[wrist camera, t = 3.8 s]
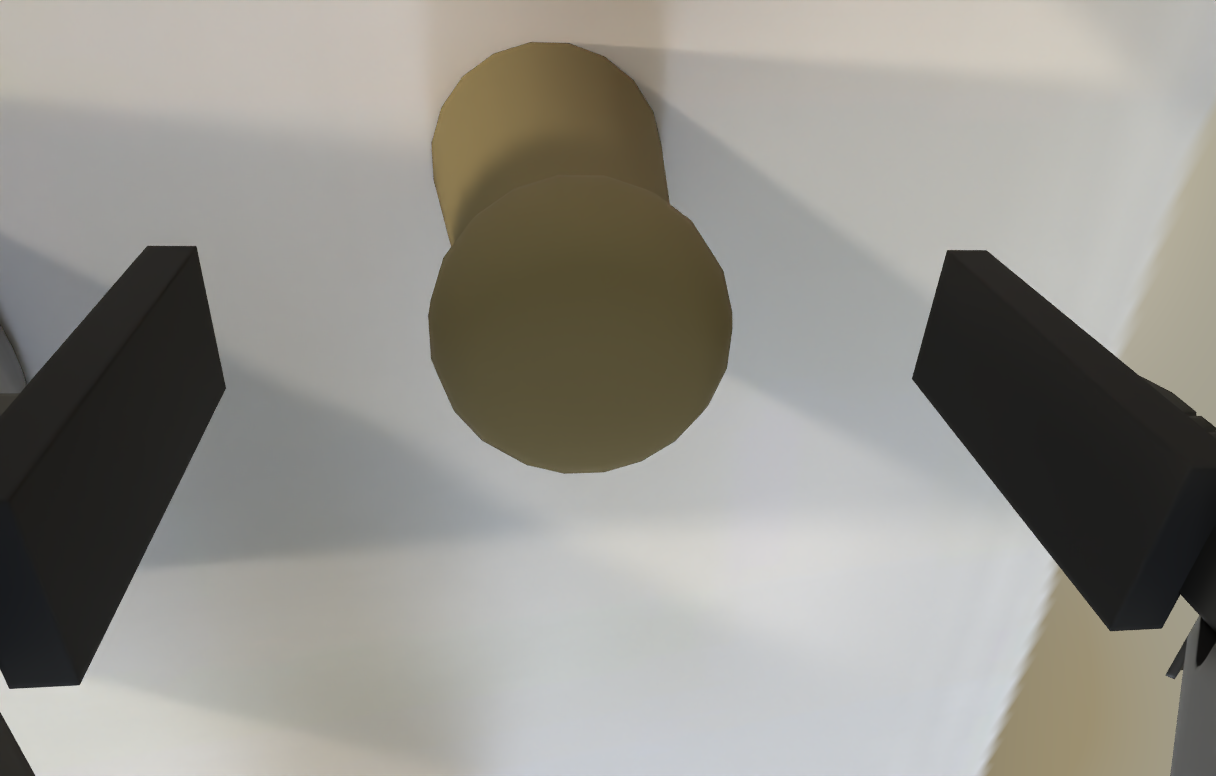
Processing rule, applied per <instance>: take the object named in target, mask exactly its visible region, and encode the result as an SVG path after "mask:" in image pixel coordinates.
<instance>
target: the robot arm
mask: <svg viewBox="0 0 1216 776" xmlns="http://www.w3.org/2000/svg"><path fill="white" fill-rule="evenodd" d="M912 380H913V381H914V382H915V383H916V385H917V386H918V387H919V388H920V390H921V391H922V392H923V394H924V395H925V396H926V397H927V399H928V400H929V401H930V402H931V404H932V405H933V406H934V408H935V409H936V410H937V411H938V413H939V414H940V415H941V416H942V418H943V419H944V420H945V422H946V423H947V424H948V425H949V427H950V428H951V429H952V430H953V432H954V433H955V434H956V436H957V437H958V438H959V439H960V441H961V442H962V443H963V444H964V446H965V447H966V448H967V450H968V451H969V452H970V453H971V455H972V456H973V457H974V458H975V460H976V461H977V462H978V464H979V465H980V466H981V467H982V469H983V470H984V471H985V472H986V474H987V475H988V476H989V478H990V479H991V480H992V481H993V483H994V484H995V485H996V486H997V488H998V489H999V490H1000V492H1001V493H1002V494H1003V495H1004V497H1005V498H1006V499H1007V500H1008V502H1009V503H1010V504H1011V506H1012V507H1013V508H1014V509H1015V511H1016V512H1017V513H1018V514H1019V516H1020V517H1021V518H1022V520H1023V521H1024V522H1025V523H1026V525H1027V526H1028V527H1029V528H1030V530H1031V531H1032V532H1033V534H1034V535H1035V536H1036V537H1037V539H1038V540H1039V541H1040V542H1041V544H1042V545H1043V546H1044V548H1045V549H1046V550H1047V551H1048V553H1049V554H1050V555H1051V556H1052V558H1053V559H1054V560H1055V562H1056V563H1057V564H1058V565H1059V567H1060V568H1061V569H1062V570H1063V572H1064V573H1065V574H1066V576H1067V577H1068V578H1069V579H1070V581H1071V582H1072V583H1073V584H1074V585H1075V587H1076V588H1077V590H1078V591H1079V592H1080V593H1081V594H1082V596H1083V597H1084V598H1085V600H1086V601H1087V602H1088V604H1089V605H1090V606H1091V607H1092V609H1093V610H1094V611H1095V612H1096V614H1097V615H1098V616H1099V617H1100V619H1101V620H1102V621H1103V623H1104V624H1105V625H1106V626H1107V628H1108V629H1109V630H1110V631H1120V630H1121V631H1123V630H1141V629H1161V628H1162V627H1163V625H1164V623H1165V621H1166V620H1167V618H1168V616H1169V614H1170V612H1171V611H1172V609H1173V607H1174V605H1175V603H1176V601H1177V600H1178V598H1179V596H1180V594H1181V595H1182V596H1183V597H1184V598H1185V600H1186V601H1187V602H1188V603H1189V604H1190V605H1191V606H1192V607H1193V608H1194V610H1195V611H1196V612H1198V614H1199V617H1198V619H1197V621H1196V622H1195V624H1194V626H1193V628H1192V629H1191V631H1190V633H1189V635H1188V636H1187V638H1186V640H1185V642H1184V643H1183V645H1182V647H1181V649H1180V651H1179V652H1178V654H1177V656H1176V658H1175V659H1174V661H1173V663H1172V665H1171V666H1170V668H1169V670H1168V672H1167V673H1166V676H1168V677H1170V678H1173V679H1175V678H1176V676H1177V675H1178V673H1179V672H1180V670H1183V677H1182V685H1181V694H1180V702H1179V711H1178V718H1177V726H1176V734H1175V742H1174V750H1173V759H1172V767H1171V775H1170V776H1216V427H1214V426H1213V425H1212V424H1211V423H1209V422H1208V421H1207V420H1206V419H1204V418H1203V417H1202V416H1196V412H1195V411H1194V410H1193V409H1192V408H1191V407H1189V406H1188V405H1187V404H1186V403H1184V402H1183V401H1182V400H1181V399H1180V398H1178V397H1177V396H1176V395H1175V394H1173V393H1172V392H1170V391H1168V390H1166V389H1164V388H1162V387H1160V386H1158V385H1156V384H1155V383H1153V382H1151V381H1149V380H1147V379H1145V378H1143V377H1141V376H1139V375H1137V374H1136V373H1135V372H1134V371H1133V370H1132V369H1130V368H1129V367H1128V366H1127V365H1125V364H1124V363H1123V362H1122V361H1121V360H1119V359H1118V358H1117V357H1116V356H1114V355H1113V354H1112V353H1111V352H1110V351H1108V350H1107V349H1106V348H1105V347H1103V346H1102V345H1101V344H1100V343H1099V342H1097V341H1096V340H1095V339H1094V338H1092V337H1091V336H1090V335H1089V334H1088V333H1086V332H1085V331H1084V330H1083V329H1082V328H1080V327H1079V326H1078V325H1077V324H1075V323H1074V322H1073V321H1072V320H1071V319H1069V318H1068V317H1067V316H1066V315H1064V314H1063V313H1062V312H1061V311H1060V310H1058V309H1057V308H1056V307H1055V306H1053V305H1052V304H1051V303H1050V302H1049V301H1047V300H1046V299H1045V298H1044V297H1042V296H1041V295H1040V294H1039V293H1038V292H1036V291H1035V290H1034V289H1033V288H1032V287H1030V286H1029V285H1028V284H1027V283H1025V282H1024V281H1023V280H1022V279H1021V278H1019V277H1018V276H1017V275H1016V274H1014V273H1013V272H1012V271H1011V270H1010V269H1008V268H1007V267H1006V266H1005V265H1003V264H1002V263H1001V262H1000V261H999V260H997V259H996V258H995V257H994V256H992V255H991V254H990V253H989V252H988V251H986V250H947V253H946V256H945V260H944V264H943V267H942V271H941V275H940V278H939V282H938V286H937V289H936V293H935V297H934V300H933V304H932V308H931V311H930V315H929V318H928V322H927V326H926V329H925V333H924V337H923V340H922V344H921V348H920V351H919V355H918V359H917V362H916V366H915V370H914V373H913V377H912ZM225 389H226V386H225V382H224V377H223V372H222V367H221V362H220V358H219V353H218V348H217V343H216V338H215V334H214V329H213V324H212V319H211V314H210V310H209V305H208V300H207V295H206V290H205V286H204V281H203V276H202V271H201V266H200V262H199V257H198V252H197V247H196V246H147V247H146V248H145V249H144V250H143V252H142V253H141V254H140V255H139V256H138V257H137V258H136V260H135V261H134V262H133V263H132V264H131V265H130V267H129V268H128V269H127V270H126V271H125V272H124V274H123V275H122V276H121V277H120V278H119V279H118V280H117V282H116V283H115V284H114V285H113V286H112V287H111V289H110V290H109V291H108V292H107V293H106V294H105V295H104V297H103V298H102V299H101V300H100V301H99V302H98V304H97V305H96V306H95V307H94V308H93V309H92V311H91V312H90V313H89V314H88V315H87V316H86V317H85V319H84V320H83V321H82V322H81V323H80V324H79V326H78V327H77V328H76V329H75V330H74V331H73V333H72V334H71V335H70V336H69V337H68V338H67V339H66V341H65V342H64V343H63V344H62V345H61V346H60V348H59V349H58V350H57V351H56V352H55V353H54V354H53V356H52V357H51V358H50V359H49V360H48V361H47V363H46V364H45V365H44V366H43V367H42V368H41V370H40V371H39V372H38V373H37V374H36V375H35V376H34V378H33V379H32V380H31V381H30V382H29V383H28V385H26V382H25V378H24V375H23V372H22V369H21V367H20V364H19V362H18V359H17V357H16V355H15V352H14V350H13V348H12V346H11V344H10V342H9V340H8V338H7V336H6V335H5V333H4V331H3V329H2V327H1V325H0V669H1V672H2V674H3V676H4V678H5V680H6V682H7V685H8V687H9V689H15V688H34V687H53V686H73V685H80V683H81V681H82V679H83V677H84V675H85V673H86V671H87V669H88V667H89V665H90V663H91V661H92V659H93V657H94V655H95V653H96V651H97V649H98V647H99V645H100V643H101V641H102V639H103V637H104V635H105V633H106V631H107V629H108V626H109V624H110V622H111V620H112V618H113V616H114V614H115V612H116V610H117V608H118V606H119V604H120V602H121V600H122V598H123V596H124V594H125V592H126V590H127V588H128V586H129V584H130V582H131V580H132V578H133V576H134V574H135V572H136V570H137V568H138V566H139V564H140V562H141V560H142V557H143V555H144V553H145V551H146V549H147V547H148V545H149V543H150V541H151V539H152V537H153V535H154V533H155V531H156V529H157V527H158V525H159V523H160V521H161V519H162V517H163V515H164V513H165V511H166V509H167V507H168V505H169V503H170V501H171V499H172V497H173V495H174V493H175V491H176V488H177V486H178V484H179V482H180V480H181V478H182V476H183V474H184V472H185V470H186V468H187V466H188V464H189V462H190V460H191V458H192V456H193V454H194V452H195V450H196V448H197V446H198V444H199V442H200V440H201V438H202V436H203V434H204V432H205V430H206V428H207V426H208V424H209V422H210V419H211V417H212V415H213V413H214V411H215V409H216V407H217V405H218V403H219V401H220V399H221V397H222V395H223V393H224V391H225ZM0 776H35V774H34V772H33V771H32V769H31V767H30V765H29V763H28V762H27V760H26V758H25V756H24V754H23V753H22V751H21V749H20V747H19V745H18V744H17V742H16V740H15V738H14V736H13V734H12V733H11V731H10V729H9V727H8V725H7V724H6V722H5V720H4V718H3V716H2V715H1V713H0Z"/></svg>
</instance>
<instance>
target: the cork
mask: <svg viewBox="0 0 1216 776" xmlns="http://www.w3.org/2000/svg"><path fill="white" fill-rule="evenodd" d="M432 159H433V177H434V183H435V187H436V190H437V194H438V198H439V202H440V206H441V210H442V214H443V217H444V221H445V225H446V229H447V233H448V237H449V240H450V244H451V248H450V250H449V251H448V252H447V254H446V255H445V256H444V258H443V261H442V264H441V268H440V271H439V274H438V277H437V281H436V284H435V287H434V291H433V294H432V297H431V301H430V308H429V314H428V319H429V334H430V349H431V360H432V362H433V365H434V367H435V369H436V372H437V374H438V376H439V379H440V381H441V383H442V385H443V388H444V390H445V392H446V394H447V396H448V399H449V401H450V403H451V405H452V408H453V410H454V411H455V413H456V414H457V415H458V416H459V417H460V418H461V419H462V420H463V421H464V422H465V423H466V424H467V425H468V426H469V427H470V428H471V429H472V430H473V431H474V432H475V433H476V435H477V436H478V437H479V438H480V439H481V440H482V441H484V442H486V443H488V444H489V445H491V446H493V447H495V448H497V449H499V450H500V451H502V452H504V453H506V454H508V455H510V456H511V457H513V458H515V459H517V460H519V461H520V462H522V463H524V464H526V465H529V466H534V467H538V468H543V469H547V470H551V471H556V472H560V473H564V474H565V473H594V472H606V471H609V470H613V469H616V468H620V467H623V466H627V465H630V464H633V463H637V462H640V461H643V460H644V459H646V458H648V457H649V456H651V455H653V454H654V453H656V452H658V451H659V450H661V449H663V448H664V447H666V446H668V445H669V444H671V443H673V442H674V441H676V439H677V438H678V437H679V436H680V435H681V434H682V433H683V432H684V431H685V430H686V429H687V428H688V427H689V426H690V425H691V424H692V423H693V422H694V421H695V420H696V419H697V418H698V417H699V415H700V414H701V413H702V412H703V411H704V410H705V408H706V407H707V406H708V405H709V403H710V401H711V399H712V397H713V395H714V393H715V391H716V389H717V387H718V385H719V383H720V381H721V379H722V377H723V375H724V373H725V371H726V369H727V363H728V356H729V349H730V342H731V334H732V309H731V305H730V300H729V295H728V291H727V286H726V281H725V277H724V272H723V270H722V268H721V267H720V265H719V263H718V262H717V260H716V258H715V257H714V255H713V254H712V252H711V250H710V249H709V247H708V246H707V244H706V243H705V241H704V240H703V238H702V236H701V235H700V233H699V232H698V230H697V229H696V227H695V226H694V224H693V222H692V221H691V220H690V219H688V218H687V217H686V216H684V215H683V214H682V213H680V212H679V211H678V210H676V209H675V208H674V207H673V206H671V205H670V203H669V196H668V189H667V182H666V175H665V168H664V161H663V154H662V147H661V143H660V138H659V134H658V130H657V126H656V122H655V117H654V113H653V111H652V109H651V108H650V106H649V104H648V103H647V101H646V100H645V98H644V96H643V95H642V93H641V91H640V90H639V88H638V87H637V85H636V83H635V82H634V80H632V79H631V78H630V77H629V76H627V75H626V74H625V73H624V72H623V71H621V70H620V69H619V68H618V67H617V66H615V65H614V64H613V63H612V62H611V61H609V60H608V59H607V58H606V57H604V56H601V55H599V54H596V53H593V52H591V51H588V50H585V49H583V48H580V47H577V46H575V45H572V44H569V43H538V42H530V43H527V44H523V45H520V46H517V47H514V48H511V49H507V50H504V51H501V52H498V53H495V54H493V55H491V56H490V57H489V58H487V59H486V60H485V61H483V62H482V63H480V64H479V65H478V66H476V67H475V68H474V69H472V70H471V71H470V72H468V73H467V74H466V75H464V76H463V77H462V78H461V80H460V81H459V83H458V84H457V86H456V87H455V89H454V90H453V92H452V93H451V95H450V96H449V97H448V99H447V100H446V102H445V103H444V105H443V106H442V108H441V111H440V115H439V118H438V122H437V126H436V129H435V133H434V136H433V140H432Z"/></svg>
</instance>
